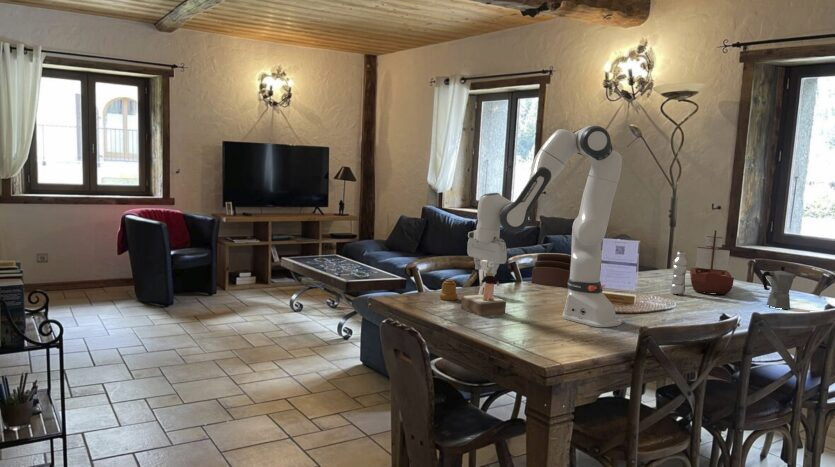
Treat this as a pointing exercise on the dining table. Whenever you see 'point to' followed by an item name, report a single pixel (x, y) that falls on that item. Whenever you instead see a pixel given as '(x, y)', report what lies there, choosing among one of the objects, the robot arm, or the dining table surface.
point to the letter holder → (552, 270)
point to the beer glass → (484, 273)
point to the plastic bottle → (679, 273)
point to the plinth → (483, 305)
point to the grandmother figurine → (489, 285)
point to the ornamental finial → (448, 290)
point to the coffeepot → (779, 288)
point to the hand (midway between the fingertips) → (485, 271)
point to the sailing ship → (712, 268)
